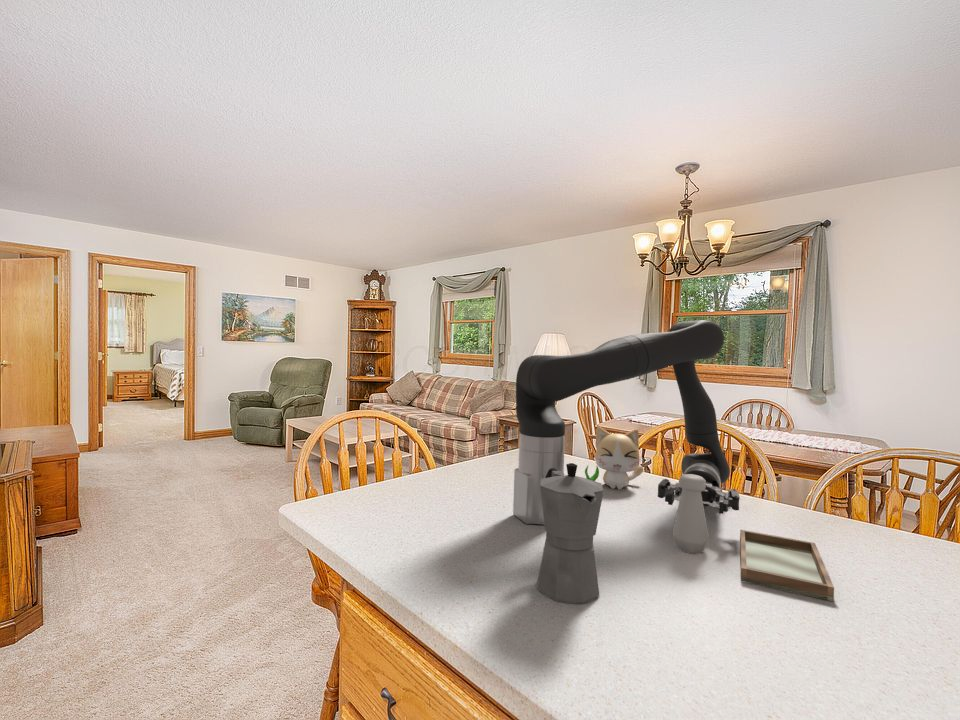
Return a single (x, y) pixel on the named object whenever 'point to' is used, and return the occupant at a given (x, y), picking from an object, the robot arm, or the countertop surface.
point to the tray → (784, 565)
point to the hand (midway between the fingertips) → (695, 503)
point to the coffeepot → (569, 536)
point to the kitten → (617, 457)
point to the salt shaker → (691, 516)
